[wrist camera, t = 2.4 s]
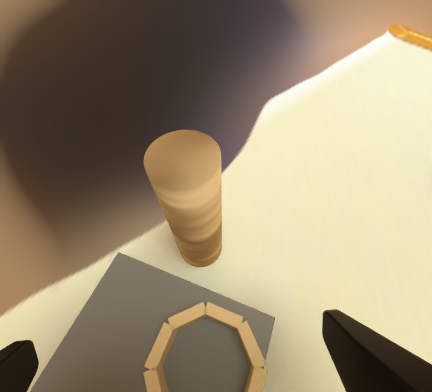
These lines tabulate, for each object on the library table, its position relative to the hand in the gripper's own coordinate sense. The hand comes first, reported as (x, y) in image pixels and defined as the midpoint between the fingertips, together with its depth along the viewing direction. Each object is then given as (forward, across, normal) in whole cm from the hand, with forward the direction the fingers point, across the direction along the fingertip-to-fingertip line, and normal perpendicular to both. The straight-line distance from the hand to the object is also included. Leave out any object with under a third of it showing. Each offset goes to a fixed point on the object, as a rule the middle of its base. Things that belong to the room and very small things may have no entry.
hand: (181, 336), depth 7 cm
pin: (+15, 0, +4) cm, 16 cm away
